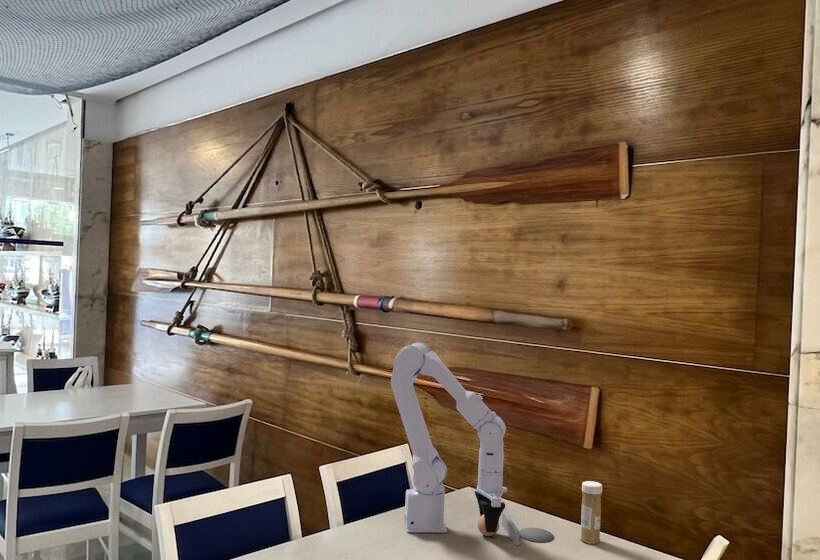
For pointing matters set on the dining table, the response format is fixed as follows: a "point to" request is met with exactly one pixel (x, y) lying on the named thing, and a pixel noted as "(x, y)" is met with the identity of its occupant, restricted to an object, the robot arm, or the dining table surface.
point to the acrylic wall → (510, 528)
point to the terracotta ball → (482, 527)
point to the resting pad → (536, 535)
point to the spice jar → (591, 512)
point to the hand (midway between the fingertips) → (488, 527)
